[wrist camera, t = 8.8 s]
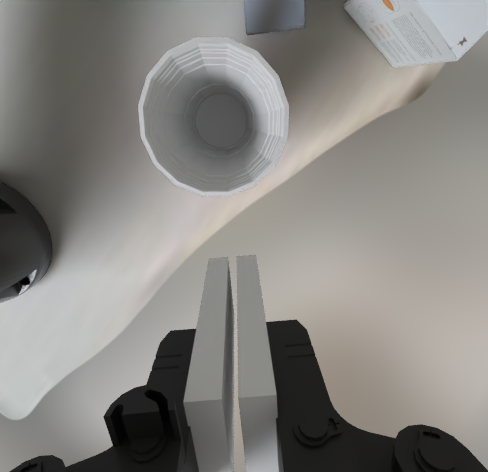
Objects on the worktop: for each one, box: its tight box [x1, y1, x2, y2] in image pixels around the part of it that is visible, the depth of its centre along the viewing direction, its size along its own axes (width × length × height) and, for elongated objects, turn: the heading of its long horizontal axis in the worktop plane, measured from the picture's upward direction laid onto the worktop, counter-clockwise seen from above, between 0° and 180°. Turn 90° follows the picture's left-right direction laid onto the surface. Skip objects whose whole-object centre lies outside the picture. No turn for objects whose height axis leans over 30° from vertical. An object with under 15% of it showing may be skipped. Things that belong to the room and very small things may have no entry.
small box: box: [343, 0, 488, 68], centre depth 25 cm, size 8×6×10 cm
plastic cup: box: [138, 37, 289, 196], centre depth 28 cm, size 11×11×12 cm
